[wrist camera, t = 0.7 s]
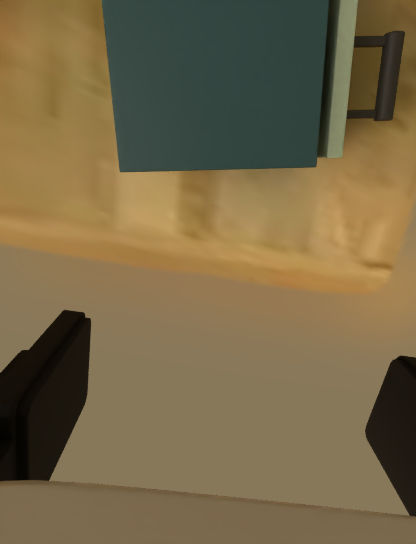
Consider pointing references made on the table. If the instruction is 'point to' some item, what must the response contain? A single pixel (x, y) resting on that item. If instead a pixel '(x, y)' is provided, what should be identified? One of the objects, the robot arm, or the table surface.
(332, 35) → the drawer
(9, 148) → the table surface
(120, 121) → the small teal cabinet
